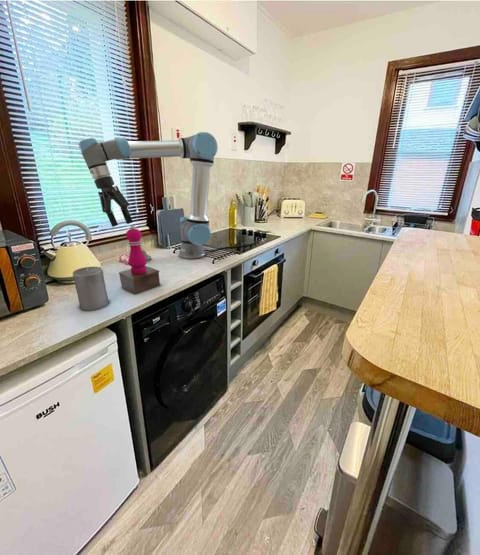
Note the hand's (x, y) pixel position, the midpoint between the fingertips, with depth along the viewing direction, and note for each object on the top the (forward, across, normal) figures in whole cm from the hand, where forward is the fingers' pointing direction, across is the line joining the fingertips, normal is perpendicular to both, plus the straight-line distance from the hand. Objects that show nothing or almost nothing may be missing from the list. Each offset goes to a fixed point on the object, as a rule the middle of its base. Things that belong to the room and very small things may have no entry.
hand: (122, 224), depth 127 cm
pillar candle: (+23, +15, -32) cm, 42 cm away
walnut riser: (+26, +14, -11) cm, 32 cm away
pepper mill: (+20, +15, -10) cm, 27 cm away
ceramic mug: (+23, -18, +12) cm, 31 cm away
